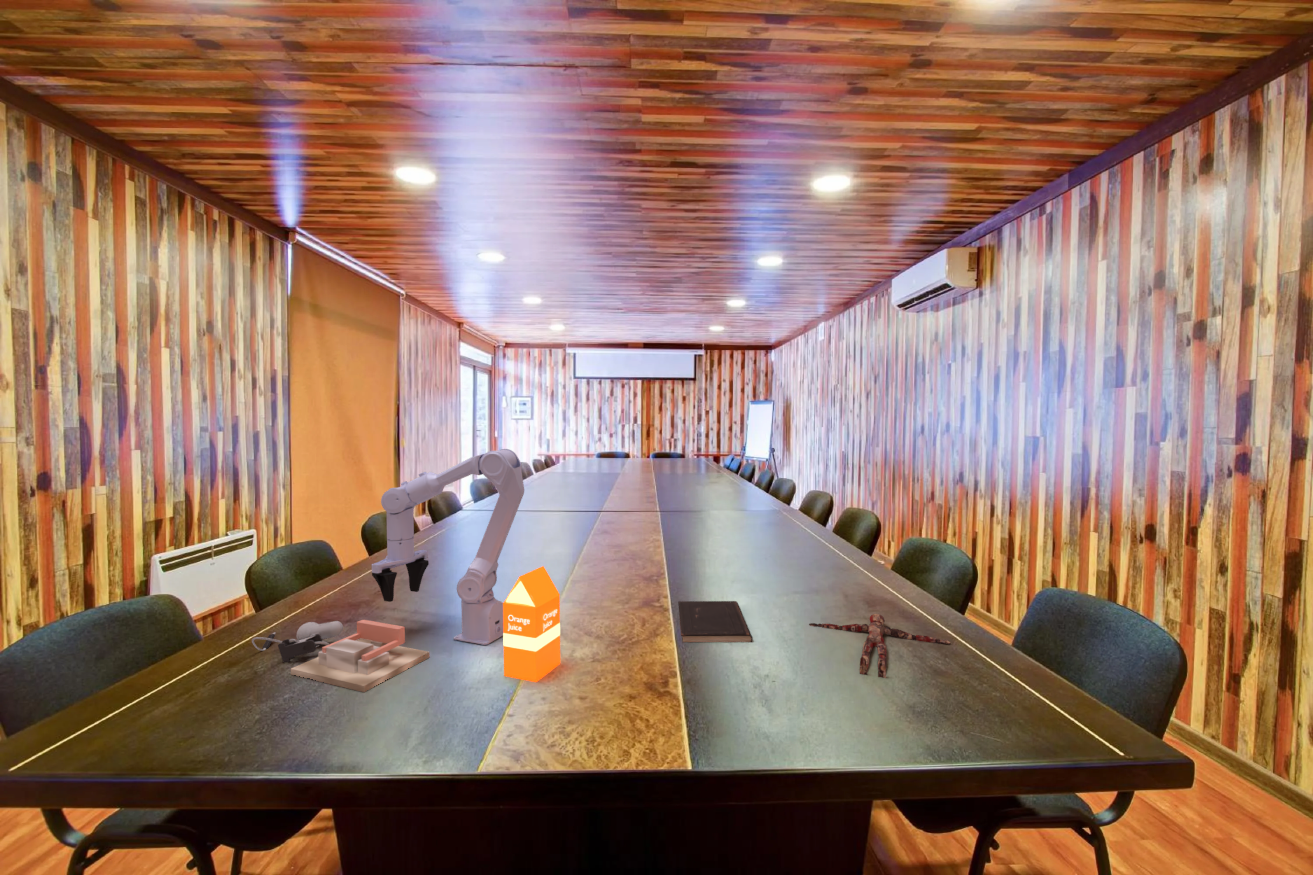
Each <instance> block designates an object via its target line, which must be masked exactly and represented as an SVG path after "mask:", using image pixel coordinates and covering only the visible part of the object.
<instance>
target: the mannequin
mask: <svg viewBox="0 0 1313 875" xmlns="http://www.w3.org/2000/svg"><path fill="white" fill-rule="evenodd" d="M885 621H886V620H885V618H884V616H883V615H881V614H879V613H873V614H871V615H870V616H869V622H870V623H869V624H866V623H862V624H860V623H853V624H852V623H851V624H845V625H844V624H843V625H838V624H836V623H835V624H834V623H833V624H832V623H814V622H812V623H811V622H810V623H809V624H808V626H810V627H816V628H817V627H819V628H821V629H822V628H823V629H828V630H837V631H844V632H852V633H861V632H864V633H866V632H868V635H867V636H866V640H865V641H864V642H863V643H862V644H863V645H862V651H861V657H860V660H859V669H858V670H859V674H860V675H865V676H868V671H869V665H870V657H871V653H872V651H873V648H876V649H877V654H878V658H877V671H878V672H877V677H878V678H883V679H886V678H887V665H888V664H887V662H888V660H887V654H888V652H887V649H888V648H887V645H886V642H885V639H884V634H885V635H890V636H892V637H894V638H898V639H902V640H903V639H904V640H910V641H911V640H912V641H917V642H923V643H931V644H935V643H936V644H943V645H951V641H949V640H946V639H940V638H936V637H932V636H928V635H921V634H916V635H915V634H912V633H909V632H907V631H905V630H901V629H899V628H891V627H890V626H885V627H884V624H885Z"/></svg>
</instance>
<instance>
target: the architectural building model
mask: <svg viewBox="0 0 1313 875" xmlns="http://www.w3.org/2000/svg"><path fill="white" fill-rule="evenodd" d="M386 644H388V643H383V642H377V641H372V640H367V639H362V638H360V639H358V640H355V641H354V640H349V639H346V640H343V641H341V642H338V643H336V644H333V645H331V646H329V647H326V653H323V652H322V650H320V651H318V654H317V657H315V658H313V659H310V660H308V661H306V662H305V661H304V662H303V663H301V664H299V665H296V666H294V667H291V668H290V675H291V676H294V675H296V676H295V677H299V676H300V677H299V678H303V677H304V678H303V679H307V678H310V679H309V680H311V679H313V680H312V681H315V680H316V682H320V683H323V682H324V684H327V685H333V686H337V687H341V688H344V689H348V690H352V691H358V692H360V693H365V692H368V691H370V690H371V689H373V688H375V687H377V686H379V685H380V683H381V684H383V683H384V682H386V681H387V679H388V680H390V679H392V678H394V677H396V676H397V675H399V674H402V673H403V672H405V671H406V670H409V669H411V668H412V667H415V666H416V665H418V664H421V663H422V662H424V661H426V660H427V659H429V658H430V656H431V655H430V651H429V650H422V649H417V648H412V647H411V648H410V647H408V646H407V647H406V646H402V645H399V646H397V647H395V648H393V649H391V650H389V651H386V652H384V653H382V654H380V655H378V656H376V657H374V658H372V659H370V660H367V661H362V655H364V654H366V653H368V652H371V651H373V650H375V649H377V648H379V647H381V646H384V645H386ZM408 668H409V669H408ZM389 678H390V679H389ZM385 680H386V681H385ZM382 682H383V683H382ZM378 684H379V685H378ZM376 685H377V686H376ZM374 686H375V687H374ZM367 690H368V691H367Z"/></svg>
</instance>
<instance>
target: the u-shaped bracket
mask: <svg viewBox="0 0 1313 875" xmlns="http://www.w3.org/2000/svg"><path fill="white" fill-rule="evenodd" d="M405 629H406V627H405V626H403V625H402V626H401V625H397V624H390V623H387V622H381V621H380V622H379V621H373V620H370V619H369V620H368V619H361V620H359V621H356V632H355V633H354V634H351V635H349V636H347V637H344V638H342V639H339V640H337V641H334V642H332V643H329V645H324V646H322V647H321V651H322V652H323V653H326V647H329V646H331V645H333V644H336V643H338V642H341V641H343V640H346V639H349V640H354V641H357V640H359V639H365V640H370V641H377V642H383V643H388V644H386V645H384V646H381V647H379V648H377V649H375V650H373V651H371V652H368V653H366V654H364V655H362V661H367V660H370V659H372V658H374V657H376V656H378V655H380V654H382V653H384V652H386V651H389V650H391V649H393V648H395V647H397V646H402V645H403V644H405V643H406V632H405Z"/></svg>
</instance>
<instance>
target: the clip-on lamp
mask: <svg viewBox="0 0 1313 875" xmlns="http://www.w3.org/2000/svg"><path fill="white" fill-rule="evenodd" d="M343 630H344V626H343V624H342V622H341V621H338V620H334V621H327V622H322V623H317V622H315V621H307V622H305V623H303V624H302V625H301V626H299V628H298V629H297V631H296V639H295V638H290V639H289V638H287V639H283V640H279V639H276V638H275V637H276V633H277V632H273V633H271V634H269V635H268V636H267V637H263V636H262V637H261V636H259V637H258V636H256V637H253V638H252V639H251V644H252V645H253V647H255V649H257V650H258V651H260V652H264V651H265V650H266V649H269V648H270V646H271V644H272V642H276V643H278V644H277V647H278V650H279V653H280V657H281V660H282V662H283V663H289V662H291V659H293V658H295V657H299V656H303V655H306V654H310V653H314V652H316V650H317V648H318V647H320V646H322V645H324V646H327V645H329V644H330V643H329V642H327V641H325V640H327V639H331V638H336V637H339V636H340V635H341V634H342V632H343ZM255 640H265V642H264V644H263V646H262V647H261V648H260V647H258V646H257V644H256V643H255Z"/></svg>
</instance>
